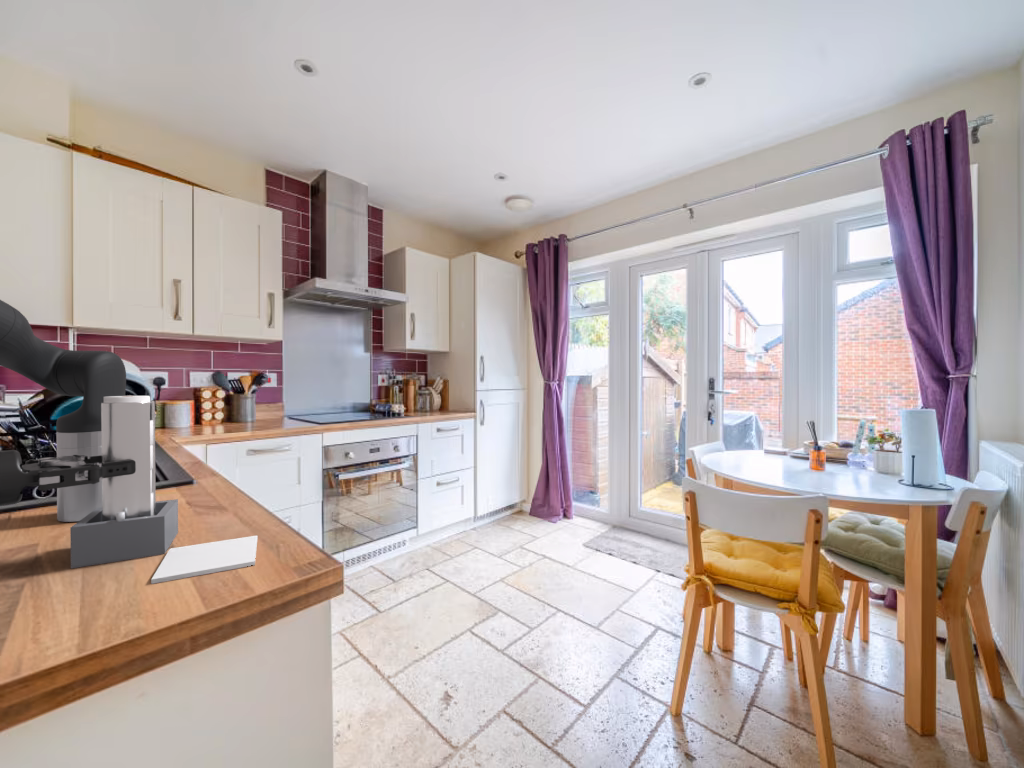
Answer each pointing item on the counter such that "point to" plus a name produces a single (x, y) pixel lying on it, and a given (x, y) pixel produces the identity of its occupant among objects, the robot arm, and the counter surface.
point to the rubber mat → (206, 558)
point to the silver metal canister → (129, 456)
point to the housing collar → (123, 536)
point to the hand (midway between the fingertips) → (127, 463)
